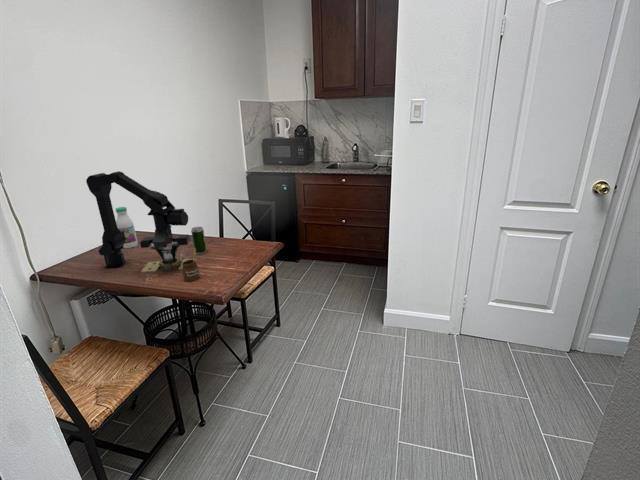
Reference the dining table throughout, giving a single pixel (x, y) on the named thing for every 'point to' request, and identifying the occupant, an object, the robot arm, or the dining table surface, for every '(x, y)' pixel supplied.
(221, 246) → the dining table surface
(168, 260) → the steel pin
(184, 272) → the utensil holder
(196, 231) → the beer can
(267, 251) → the dining table surface
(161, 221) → the robot arm
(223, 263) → the dining table surface
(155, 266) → the octagon ring with plates
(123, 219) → the milk bottle
